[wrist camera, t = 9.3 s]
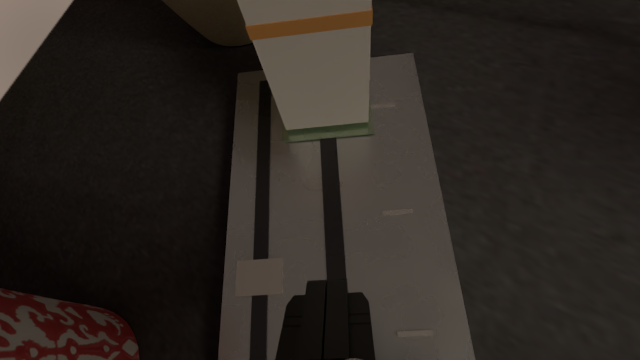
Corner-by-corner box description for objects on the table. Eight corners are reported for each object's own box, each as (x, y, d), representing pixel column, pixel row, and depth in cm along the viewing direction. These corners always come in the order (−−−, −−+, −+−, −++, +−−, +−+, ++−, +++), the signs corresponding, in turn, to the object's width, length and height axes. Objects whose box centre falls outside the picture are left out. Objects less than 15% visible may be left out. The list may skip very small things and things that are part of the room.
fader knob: (362, 69, 22) (362, -114, 13) (369, 122, 21) (374, -45, 11) (285, 77, 23) (233, -93, 14) (285, 130, 21) (226, -24, 12)
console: (410, 68, 24) (414, 41, 22) (484, 453, 15) (505, 475, 13) (244, 87, 25) (233, 62, 23) (223, 458, 16) (200, 478, 14)
